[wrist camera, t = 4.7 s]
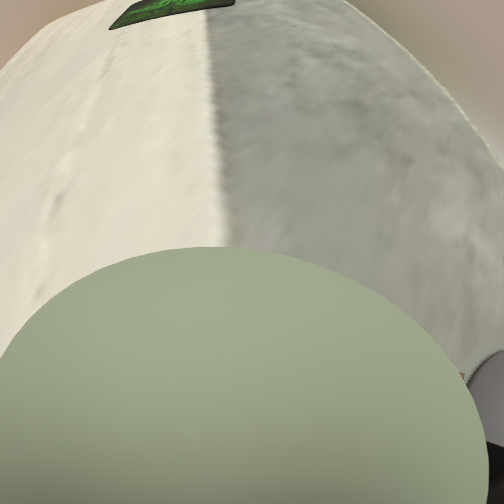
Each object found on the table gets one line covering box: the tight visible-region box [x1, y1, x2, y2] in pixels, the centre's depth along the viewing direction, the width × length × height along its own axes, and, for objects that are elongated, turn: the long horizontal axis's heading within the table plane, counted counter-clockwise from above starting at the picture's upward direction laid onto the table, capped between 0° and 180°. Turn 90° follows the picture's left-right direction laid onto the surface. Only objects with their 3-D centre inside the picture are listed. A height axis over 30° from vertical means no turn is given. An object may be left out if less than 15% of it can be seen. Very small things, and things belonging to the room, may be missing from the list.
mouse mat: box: [108, 0, 235, 30], centre depth 52 cm, size 27×22×1 cm
